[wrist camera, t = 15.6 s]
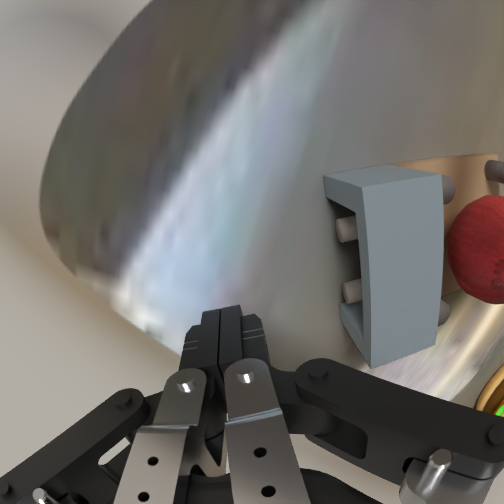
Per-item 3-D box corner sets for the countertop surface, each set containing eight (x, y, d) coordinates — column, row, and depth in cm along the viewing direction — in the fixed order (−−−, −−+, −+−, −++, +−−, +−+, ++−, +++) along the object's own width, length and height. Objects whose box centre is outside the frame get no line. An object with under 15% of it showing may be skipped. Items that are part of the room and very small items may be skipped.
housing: (387, 164, 16) (441, 174, 11) (395, 303, 19) (434, 344, 14) (323, 175, 16) (361, 187, 11) (340, 319, 19) (370, 369, 14)
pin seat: (488, 153, 16) (528, 159, 12) (486, 270, 19) (519, 291, 15) (323, 175, 16) (351, 183, 12) (340, 319, 19) (363, 357, 15)
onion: (462, 282, 18) (539, 340, 10) (408, 258, 17) (497, 326, 9) (493, 206, 16) (581, 241, 8) (443, 169, 15) (550, 195, 7)
